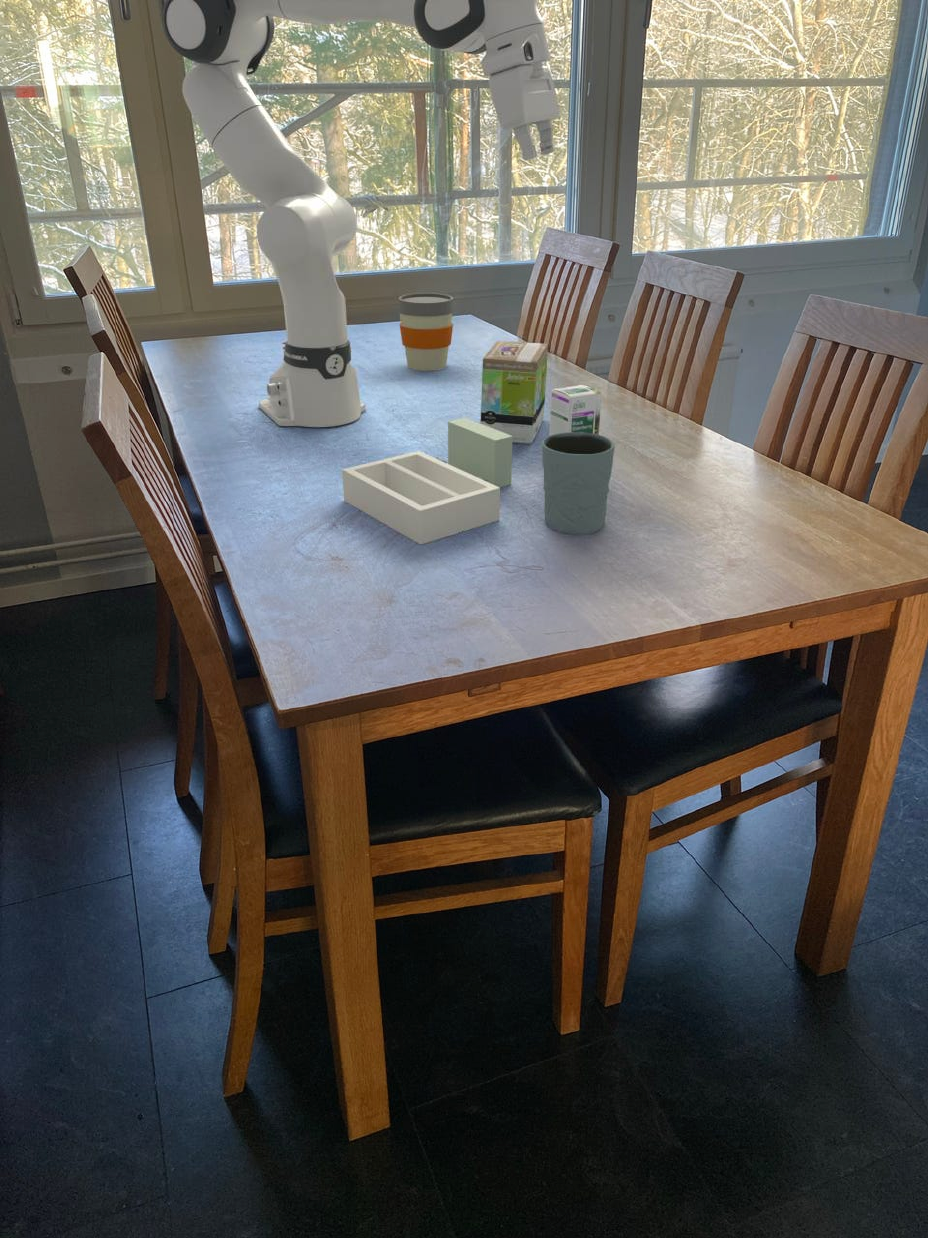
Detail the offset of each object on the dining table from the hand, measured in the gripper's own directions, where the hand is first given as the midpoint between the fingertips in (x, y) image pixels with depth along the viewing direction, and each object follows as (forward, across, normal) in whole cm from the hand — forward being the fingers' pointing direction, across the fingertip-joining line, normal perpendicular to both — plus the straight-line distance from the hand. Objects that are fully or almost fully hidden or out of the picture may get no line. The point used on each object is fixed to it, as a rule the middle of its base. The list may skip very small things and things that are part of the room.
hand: (539, 156), depth 143 cm
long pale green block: (+43, +21, -14) cm, 50 cm away
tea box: (+43, -4, -17) cm, 46 cm away
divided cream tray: (+41, +38, -17) cm, 59 cm away
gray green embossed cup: (+48, +34, +4) cm, 59 cm away
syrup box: (+47, +17, 0) cm, 50 cm away
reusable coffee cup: (+36, -42, -49) cm, 73 cm away
